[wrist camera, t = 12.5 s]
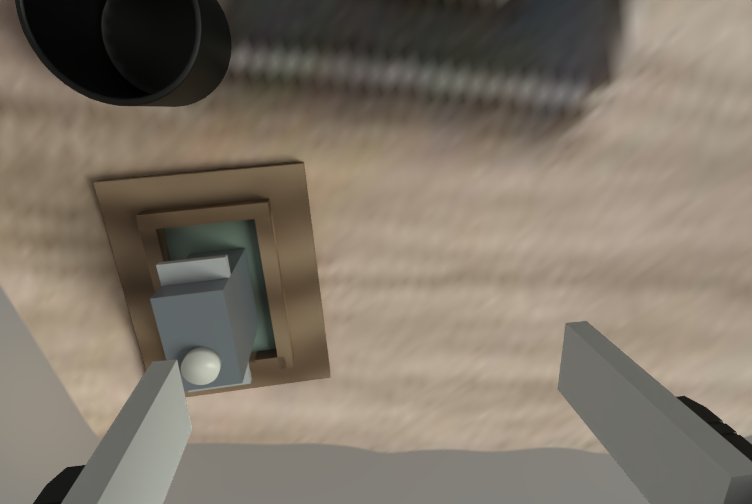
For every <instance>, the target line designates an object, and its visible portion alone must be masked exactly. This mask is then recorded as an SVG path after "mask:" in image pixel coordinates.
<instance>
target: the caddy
mask: <svg viewBox="0 0 752 504" xmlns="http://www.w3.org/2000/svg"><path fill="white" fill-rule="evenodd" d="M93 184H94V187H95V191H96V194H97V198H98V201H99V205H100V209H101V212H102V216H103V219H104V223H105V226H106V230H107V233H108V237H109V241H110V244H111V248H112V251H113V255H114V258H115V262H116V266H117V269H118V273H119V276H120V280H121V283H122V287H123V290H124V294H125V298H126V301H127V305H128V308H129V312H130V315H131V319H132V322H133V326H134V330H135V333H136V337H137V340H138V344H139V347H140V351H141V354H142V358H143V362H144V365H145V369H146V371H147V369H148V368H149V366H150V364H151V363H152V362H155V361H165V360H166V357H165V353H164V349H163V345H162V342H161V338H160V334H159V330H158V327H157V323H156V319H155V316H154V312H153V308H152V304H151V301H150V298H151V297H152V296H153V295H154V294H155V292H156V291H157V290H158V289H159V288H160V287H161V283H160V279H159V275H158V271H157V267H156V265H157V264H158V263H159V262H165V261H174V260H183V259H186V258H187V256H188V255H189V254H194V253H203V252H212V251H221V250H230V249H239V248H245V249H246V254H247V259H248V265H249V270H250V276H251V281H252V287H253V292H254V298H255V303H256V308H257V314H258V319H259V325H258V329H257V333H256V336H255V340H254V343H253V347H252V351H251V354H250V358H249V361H248V362H249V367H250V372H251V377H252V380H251V384H244V385H237V386H230V387H223V388H216V389H209V390H201V391H194V392H188V391H184V393H185V397H191V396H198V395H205V394H213V393H220V392H227V391H235V390H242V389H249V388H257V387H264V386H271V385H279V384H286V383H293V382H301V381H308V380H315V379H323V378H330V366H329V358H328V350H327V342H326V334H325V326H324V318H323V310H322V303H321V295H320V287H319V279H318V271H317V263H316V255H315V247H314V239H313V231H312V223H311V215H310V207H309V199H308V191H307V183H306V175H305V167H304V162H300V163H289V164H278V165H267V166H256V167H245V168H234V169H223V170H211V171H200V172H189V173H178V174H167V175H156V176H145V177H134V178H123V179H112V180H100V181H97V182H94V183H93Z"/></svg>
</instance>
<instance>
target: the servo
mask: <svg viewBox="0 0 752 504" xmlns="http://www.w3.org/2000/svg"><path fill="white" fill-rule="evenodd" d="M156 267H157V271H158V275H159V279H160V283H161V287H160V288H159V289H158V290H157V291H156V292H155V294H154V295H153V296H152V297H151V298H150V301H151V304H152V308H153V312H154V316H155V319H156V323H157V327H158V330H159V334H160V338H161V342H162V345H163V349H164V353H165V357H166V360H176V359H177V361H178V366H179V370H180V375H181V380H182V384H183V389H184V391H188V392H194V391H201V390H209V389H216V388H223V387H230V386H237V385H244V384H251V380H252V377H251V372H250V367H249V362H248V361H249V358H250V354H251V351H252V347H253V343H254V340H255V336H256V333H257V329H258V325H259V319H258V314H257V308H256V303H255V298H254V292H253V287H252V281H251V276H250V270H249V265H248V259H247V254H246V249H245V248H239V249H230V250H221V251H212V252H203V253H194V254H189V255H188V256H187V258H186V259H183V260H174V261H165V262H159V263H158V264H157V265H156Z"/></svg>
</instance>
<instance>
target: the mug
mask: <svg viewBox="0 0 752 504" xmlns="http://www.w3.org/2000/svg"><path fill="white" fill-rule="evenodd" d="M15 3H16V8H17V13H18V17H19V21H20V23H21V26H22V29H23V32H24V34H25V36H26V38H27V40H28V42H29V44H30V45H31V47H32V49H33V50H34V52H35V53H36V54H37V56H38V57H39V59H40V60H41V61H42V63H43V64H44V65H45V66H46V67H47V68H48V69H49V70H50V71H51V72H52V73H53V74H54V75H55V76H56V77H57V78H58V79H60V80H61V81H62V82H63V83H64V84H66V85H67V86H69V87H70V88H72V89H73V90H75V91H77V92H78V93H80V94H82V95H84V96H86V97H88V98H90V99H93V100H96V101H100V102H103V103H107V104H112V105H117V106H166V107H177V106H185V105H189V104H192V103H195V102H198V101H200V100H202V99H203V98H205V97H206V96H208V95H209V94H210V93H212V92H213V91H214V90H215V89H216V87H217V86H218V85H219V84H220V82H221V81H222V79H223V77H224V76H225V73H226V71H227V69H228V66H229V61H230V56H231V36H230V30H229V26H228V22H227V20H226V17H225V14H224V12H223V10H222V8H221V6H220V4H219V3H218V1H217V0H15Z"/></svg>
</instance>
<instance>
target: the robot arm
mask: <svg viewBox="0 0 752 504" xmlns="http://www.w3.org/2000/svg"><path fill="white" fill-rule="evenodd" d="M558 390H559V391H560V392H561V394H562V395H563V396H564V397H565V399H566V400H567V401H568V402H569V404H570V405H571V406H572V407H573V409H574V410H575V411H576V412H577V413H578V415H579V416H580V417H581V418H582V420H583V421H584V422H585V423H586V425H587V426H588V427H589V428H590V430H591V431H592V432H593V433H594V435H595V436H596V437H597V438H598V440H599V441H600V442H601V443H602V445H603V446H604V447H605V448H606V449H607V451H608V452H609V453H610V454H611V456H612V457H613V458H614V459H615V461H616V462H617V463H618V464H619V466H620V467H621V468H622V469H623V470H624V472H625V473H626V474H627V476H628V477H629V478H630V479H631V481H632V482H633V483H634V484H635V485H636V487H637V488H638V489H639V490H640V492H641V493H642V494H643V495H644V497H645V498H646V499H647V500H648V502H649V503H650V504H752V444H750V443H749V442H748V441H747V440H745V439H744V438H743V437H742V436H741V435H737V433H736V431H734V430H733V429H732V428H731V427H730V426H728V425H727V424H724V423H723V422H722V420H721V419H720V418H718V417H717V416H716V415H715V414H713V413H712V412H711V411H710V410H709V409H707V408H706V407H704V406H703V405H701V404H699V403H697V402H695V401H693V400H691V399H689V398H687V397H685V396H680V397H675V396H674V395H673V394H672V393H671V392H669V391H668V390H667V389H666V388H665V387H663V386H662V385H661V384H660V383H659V382H658V381H656V380H655V379H654V378H653V377H652V376H651V375H649V374H648V373H647V372H646V371H645V370H643V369H642V368H641V367H640V366H639V365H638V364H636V363H635V362H634V361H633V360H632V359H631V358H629V357H628V356H627V355H626V354H625V353H623V352H622V351H621V350H620V349H619V348H618V347H616V346H615V345H614V344H613V343H612V342H610V341H609V340H608V339H607V338H606V337H605V336H603V335H602V334H601V333H600V332H599V331H598V330H596V329H595V328H594V327H593V326H592V325H590V324H589V323H588V322H587V321H582V322H572V323H566V325H565V333H564V342H563V350H562V358H561V366H560V374H559V382H558ZM191 431H192V425H191V420H190V416H189V411H188V407H187V402H186V398H185V393H184V389H183V384H182V380H181V375H180V370H179V366H178V361H177V359H176V360H165V361H155V362H152V363H151V364H150V366H149V368H148V369H147V371H146V372H145V374H144V375H143V377H142V378H141V380H140V382H139V383H138V385H137V386H136V388H135V389H134V391H133V392H132V394H131V396H130V397H129V399H128V400H127V402H126V403H125V405H124V406H123V408H122V410H121V411H120V413H119V414H118V416H117V417H116V419H115V420H114V422H113V424H112V425H111V427H110V428H109V430H108V431H107V433H106V434H105V436H104V438H103V439H102V441H101V442H100V444H99V446H98V447H97V449H96V450H95V452H94V453H93V455H92V456H91V458H90V460H89V461H88V463H87V464H86V465H82V466H74V467H67V468H65V469H64V470H63V471H62V472H61V473H60V474H59V475H57V476H56V477H55V478H54V479H53V480H52V481H50V483H48V484H47V485H46V486H45V488H44V489H43V490H42V492H41V493H40V495H39V496H38V497H37V499H36V500H35V502H34V503H33V504H163V502H164V499H165V497H166V494H167V492H168V489H169V487H170V484H171V482H172V479H173V477H174V474H175V471H176V469H177V466H178V464H179V461H180V459H181V456H182V454H183V451H184V449H185V446H186V443H187V441H188V438H189V436H190V433H191Z"/></svg>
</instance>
